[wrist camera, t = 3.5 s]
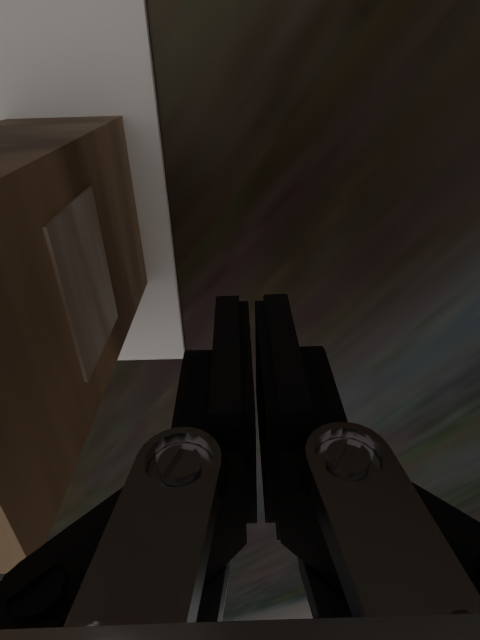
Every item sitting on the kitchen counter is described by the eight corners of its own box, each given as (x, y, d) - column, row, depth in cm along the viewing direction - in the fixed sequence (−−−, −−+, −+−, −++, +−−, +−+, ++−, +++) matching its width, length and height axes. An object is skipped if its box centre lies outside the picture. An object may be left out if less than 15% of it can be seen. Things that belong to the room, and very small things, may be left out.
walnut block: (124, 115, 19) (-123, 243, 6) (149, 282, 23) (38, 572, 10) (6, 118, 19) (-499, 253, 6) (52, 285, 23) (-182, 577, 10)
